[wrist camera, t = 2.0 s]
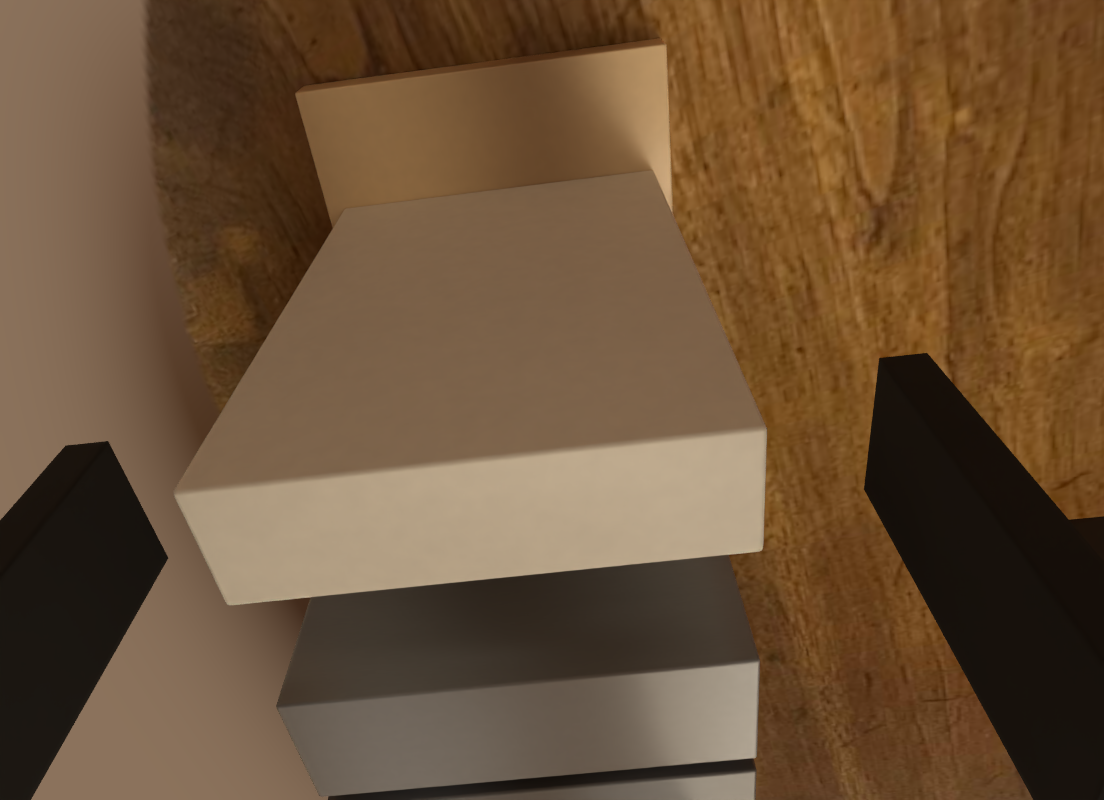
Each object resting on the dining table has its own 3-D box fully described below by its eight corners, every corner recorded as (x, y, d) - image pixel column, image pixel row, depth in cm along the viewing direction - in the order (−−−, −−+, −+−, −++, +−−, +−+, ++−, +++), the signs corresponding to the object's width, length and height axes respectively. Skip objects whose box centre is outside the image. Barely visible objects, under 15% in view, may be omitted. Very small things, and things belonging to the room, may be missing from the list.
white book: (364, 286, 24) (225, 608, 13) (344, 207, 23) (169, 493, 12) (658, 251, 24) (764, 553, 13) (653, 169, 22) (768, 427, 12)
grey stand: (437, 574, 32) (381, 967, 20) (303, 85, 22) (37, 302, 10) (683, 549, 32) (771, 936, 20) (661, 37, 22) (816, 207, 10)
